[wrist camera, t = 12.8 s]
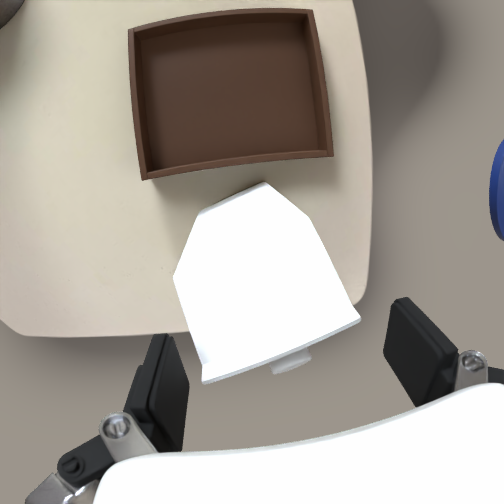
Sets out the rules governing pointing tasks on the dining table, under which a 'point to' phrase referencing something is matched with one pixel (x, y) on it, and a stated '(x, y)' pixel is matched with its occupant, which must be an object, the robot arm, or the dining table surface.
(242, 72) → the tray
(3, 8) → the pillar candle
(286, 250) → the milk carton
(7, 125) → the dining table surface
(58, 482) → the robot arm
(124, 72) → the dining table surface
